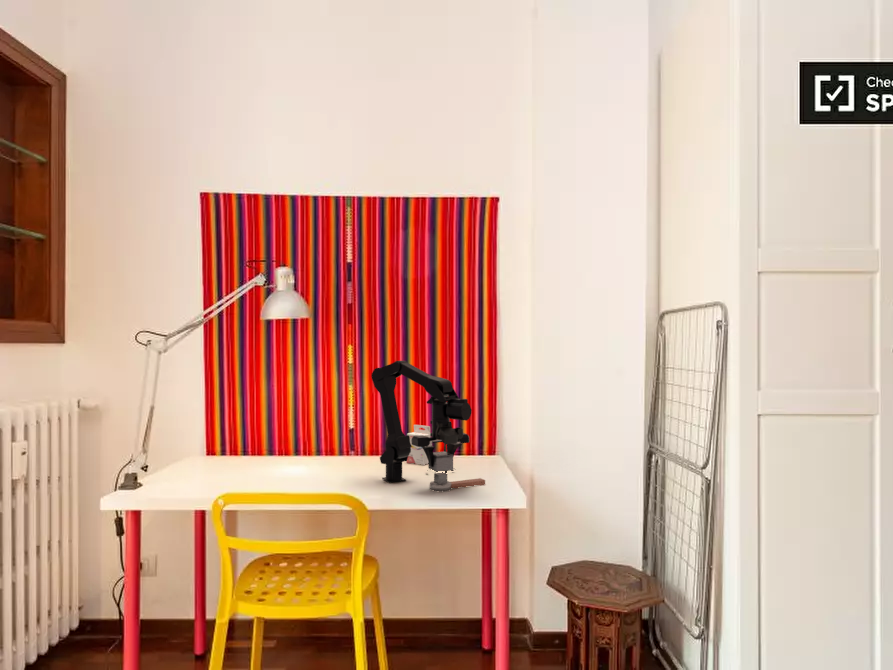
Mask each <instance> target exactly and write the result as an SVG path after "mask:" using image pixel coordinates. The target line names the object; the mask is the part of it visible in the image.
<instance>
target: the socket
mask: <svg viewBox="0 0 893 670" xmlns="http://www.w3.org/2000/svg"><path fill="white" fill-rule="evenodd" d="M431 469H432V470H434V471H436V472H438V471H451V470H454V457H453V454H450V453H448V452H447V451H446V452H445V451H444V450H443V451H433V467H431V466H430V463H429V464H428V470H431ZM436 472H435V473H436Z"/></svg>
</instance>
